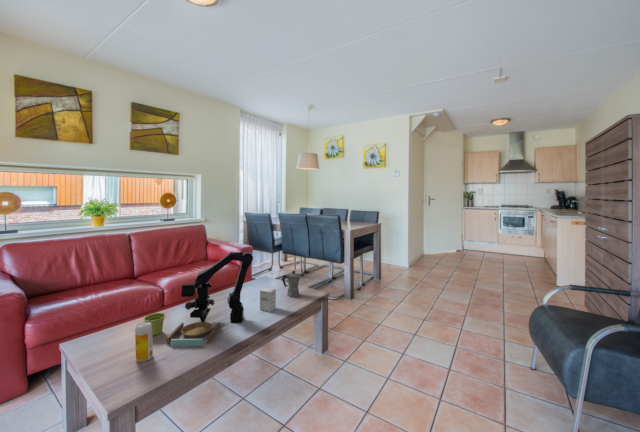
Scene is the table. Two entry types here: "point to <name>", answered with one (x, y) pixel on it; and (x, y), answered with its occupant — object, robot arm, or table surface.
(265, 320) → the table surface
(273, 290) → the supplement box
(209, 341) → the lane walls
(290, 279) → the coffeepot
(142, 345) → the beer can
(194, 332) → the plant saucer
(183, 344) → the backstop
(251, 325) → the table surface
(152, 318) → the plant pot
